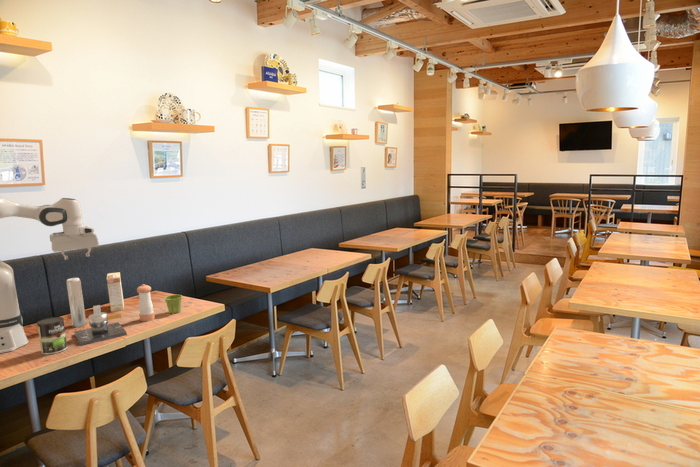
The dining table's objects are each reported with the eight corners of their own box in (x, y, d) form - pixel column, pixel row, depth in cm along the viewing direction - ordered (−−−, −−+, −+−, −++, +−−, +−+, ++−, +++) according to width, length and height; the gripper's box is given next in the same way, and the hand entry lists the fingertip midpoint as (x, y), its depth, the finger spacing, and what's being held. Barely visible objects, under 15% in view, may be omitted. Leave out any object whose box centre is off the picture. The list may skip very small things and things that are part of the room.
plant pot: (178, 314, 260) (176, 299, 258) (162, 314, 261) (160, 299, 260) (186, 309, 269) (185, 294, 267) (171, 309, 270) (170, 294, 269)
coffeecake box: (111, 305, 284) (107, 273, 281) (124, 303, 287) (120, 271, 284) (110, 312, 270) (106, 278, 267) (124, 310, 273) (120, 276, 270)
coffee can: (72, 347, 218) (68, 318, 216) (49, 356, 209) (44, 325, 207) (59, 344, 223) (55, 315, 221) (36, 352, 214) (31, 322, 212)
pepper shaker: (154, 316, 259) (150, 281, 256) (154, 320, 253) (150, 284, 250) (140, 318, 257) (136, 283, 254) (139, 322, 250) (135, 286, 247)
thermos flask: (82, 327, 247) (75, 280, 243) (69, 327, 247) (63, 280, 243) (89, 322, 253) (83, 276, 249) (77, 323, 253) (70, 277, 249)
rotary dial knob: (89, 328, 227) (87, 311, 226) (89, 322, 236) (87, 305, 235) (121, 323, 234) (119, 305, 232) (120, 317, 243) (118, 300, 241)
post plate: (80, 345, 221) (78, 335, 220) (74, 334, 236) (73, 324, 235) (126, 334, 232) (125, 324, 231) (118, 324, 247) (117, 315, 247)
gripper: (49, 233, 227) (53, 262, 229) (97, 228, 239) (100, 255, 241) (48, 232, 232) (52, 260, 234) (95, 227, 244) (98, 254, 246)
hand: (77, 258), depth 238 cm, fingers open, 8 cm apart
